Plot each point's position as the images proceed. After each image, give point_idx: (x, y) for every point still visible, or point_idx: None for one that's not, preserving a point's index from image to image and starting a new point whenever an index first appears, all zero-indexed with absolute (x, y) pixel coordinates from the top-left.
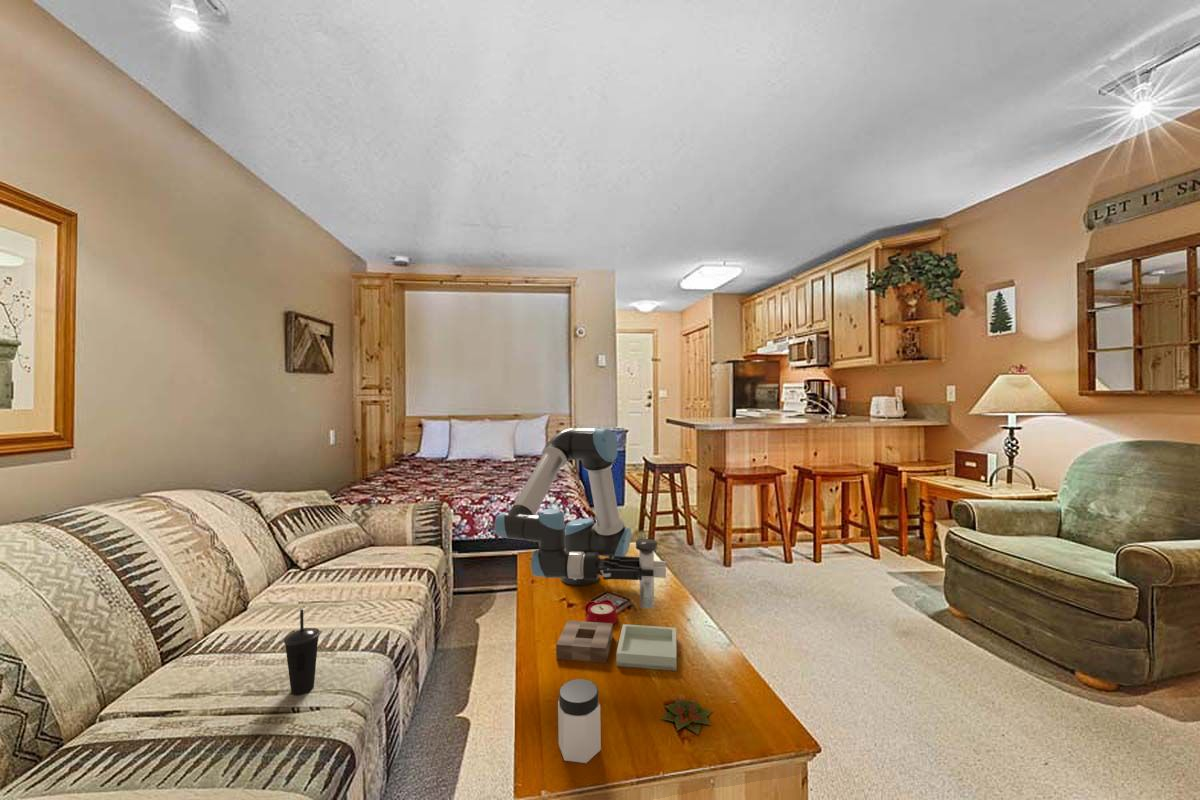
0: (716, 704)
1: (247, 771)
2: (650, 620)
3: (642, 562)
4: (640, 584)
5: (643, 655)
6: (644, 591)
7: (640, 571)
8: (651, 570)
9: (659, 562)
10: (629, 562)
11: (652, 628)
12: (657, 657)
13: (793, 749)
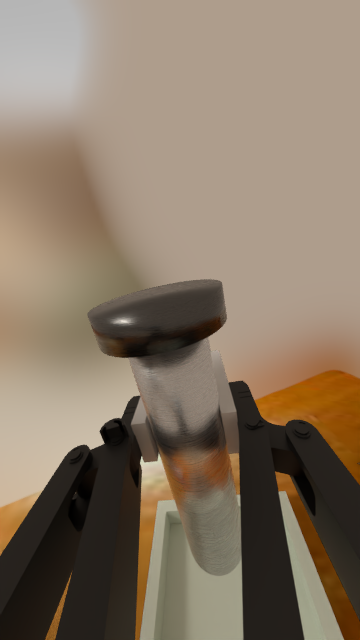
0: (338, 436)
1: None
2: (53, 625)
3: (213, 397)
4: (219, 505)
5: (333, 613)
6: (235, 498)
7: (272, 424)
8: (237, 386)
9: None
10: (122, 533)
11: (158, 585)
12: (308, 550)
13: (350, 374)
